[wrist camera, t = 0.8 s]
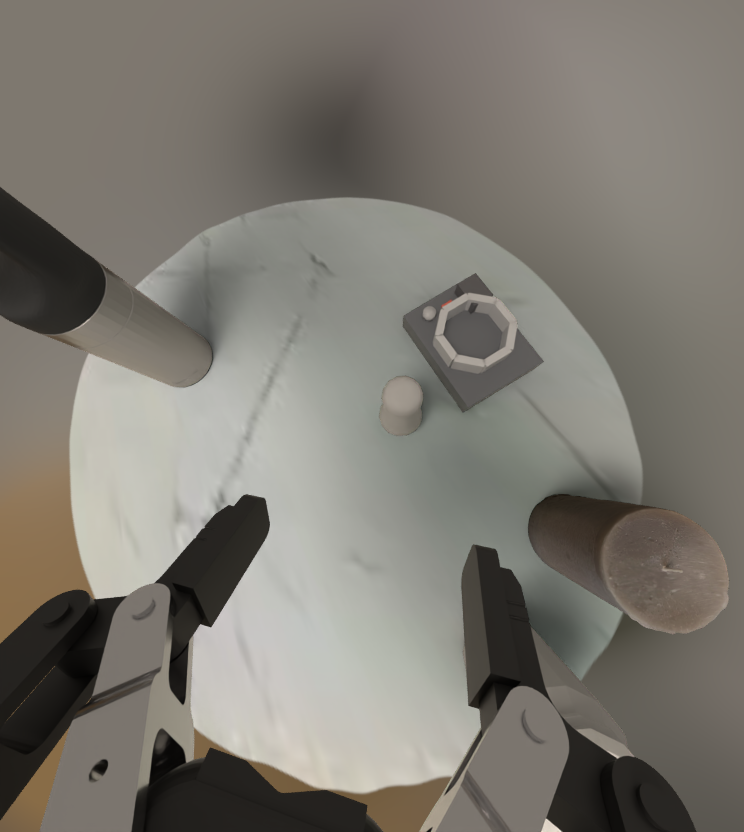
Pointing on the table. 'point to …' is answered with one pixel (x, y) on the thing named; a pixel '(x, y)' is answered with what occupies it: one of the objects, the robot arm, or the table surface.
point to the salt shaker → (401, 406)
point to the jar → (576, 706)
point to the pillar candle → (634, 559)
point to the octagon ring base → (470, 341)
